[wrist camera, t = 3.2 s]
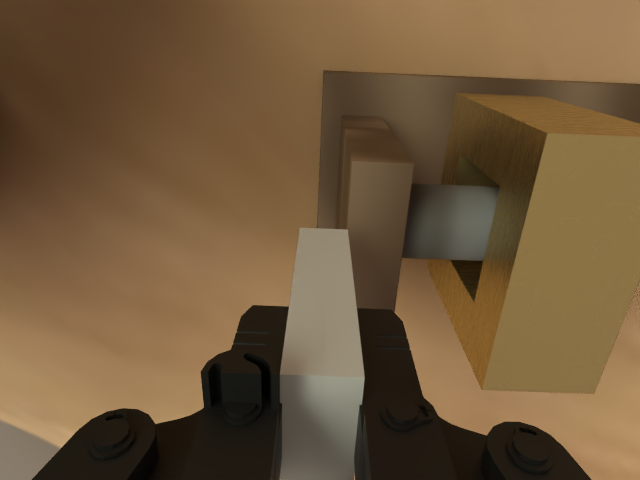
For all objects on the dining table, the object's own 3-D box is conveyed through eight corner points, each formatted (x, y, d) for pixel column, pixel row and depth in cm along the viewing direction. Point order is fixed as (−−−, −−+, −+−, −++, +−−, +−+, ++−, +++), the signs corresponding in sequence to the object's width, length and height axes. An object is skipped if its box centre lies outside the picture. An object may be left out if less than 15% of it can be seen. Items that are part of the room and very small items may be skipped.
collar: (427, 267, 24) (481, 389, 16) (455, 92, 20) (547, 133, 12) (501, 270, 24) (594, 393, 16) (543, 96, 20) (695, 139, 12)
